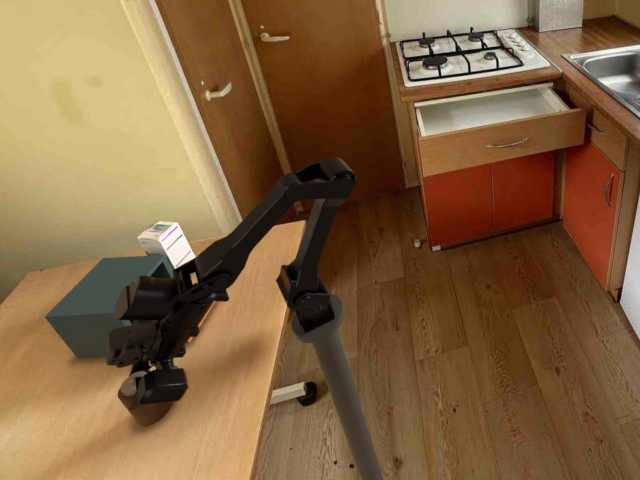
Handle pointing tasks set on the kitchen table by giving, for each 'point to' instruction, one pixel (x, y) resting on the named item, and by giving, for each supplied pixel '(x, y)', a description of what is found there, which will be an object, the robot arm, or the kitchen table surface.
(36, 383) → the kitchen table surface
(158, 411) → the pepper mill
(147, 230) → the syrup box
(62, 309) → the cubby
